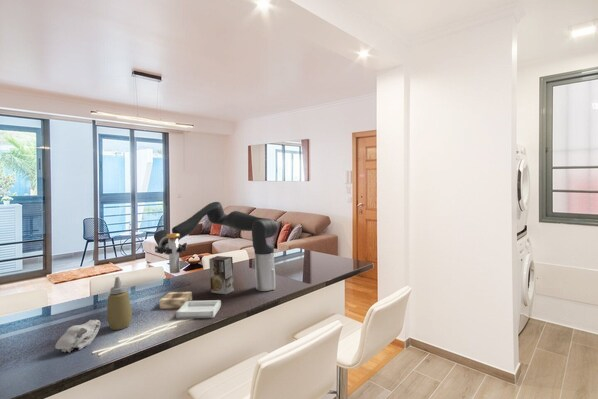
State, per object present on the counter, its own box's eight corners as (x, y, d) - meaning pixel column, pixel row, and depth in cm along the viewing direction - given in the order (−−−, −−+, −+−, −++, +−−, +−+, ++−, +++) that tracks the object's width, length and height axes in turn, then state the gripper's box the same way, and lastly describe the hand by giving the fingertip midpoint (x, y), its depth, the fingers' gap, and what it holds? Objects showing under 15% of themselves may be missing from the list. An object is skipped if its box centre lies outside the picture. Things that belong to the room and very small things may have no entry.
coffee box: (234, 290, 156) (233, 256, 155) (226, 294, 150) (224, 259, 150) (218, 288, 160) (217, 255, 159) (210, 292, 154) (208, 258, 153)
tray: (221, 306, 136) (220, 300, 136) (213, 317, 124) (213, 311, 124) (187, 306, 136) (187, 301, 136) (176, 318, 124) (176, 312, 124)
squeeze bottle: (137, 323, 121) (135, 275, 120) (119, 333, 113) (116, 281, 112) (120, 321, 124) (118, 273, 123) (101, 330, 116) (98, 279, 115)
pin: (183, 270, 142) (181, 233, 142) (178, 273, 137) (176, 235, 136) (171, 270, 142) (169, 233, 142) (166, 274, 137) (164, 235, 136)
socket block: (192, 299, 145) (191, 291, 145) (184, 307, 135) (183, 299, 135) (169, 300, 145) (169, 292, 145) (159, 308, 135) (159, 300, 135)
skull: (47, 345, 100) (76, 308, 108) (71, 357, 106) (97, 321, 113) (59, 349, 96) (88, 311, 104) (83, 362, 101) (110, 325, 109)
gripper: (185, 251, 155) (193, 257, 140) (152, 255, 148) (156, 262, 133) (184, 235, 155) (192, 240, 140) (151, 238, 148) (155, 244, 133)
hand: (174, 251), depth 137 cm, fingers closed on pin, 4 cm apart
